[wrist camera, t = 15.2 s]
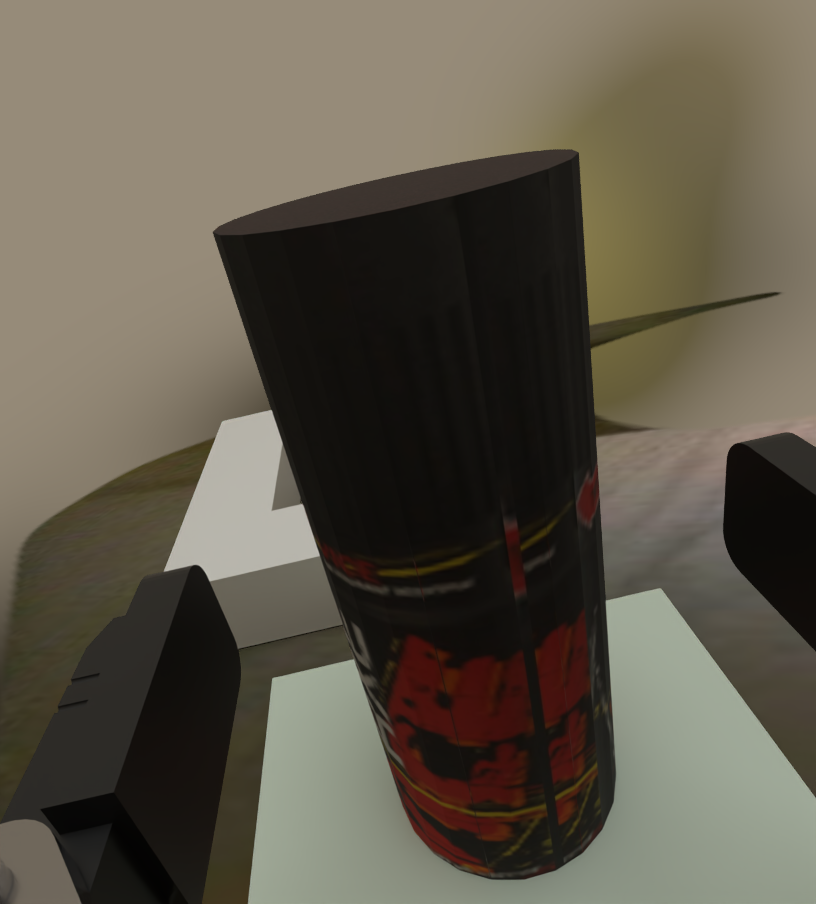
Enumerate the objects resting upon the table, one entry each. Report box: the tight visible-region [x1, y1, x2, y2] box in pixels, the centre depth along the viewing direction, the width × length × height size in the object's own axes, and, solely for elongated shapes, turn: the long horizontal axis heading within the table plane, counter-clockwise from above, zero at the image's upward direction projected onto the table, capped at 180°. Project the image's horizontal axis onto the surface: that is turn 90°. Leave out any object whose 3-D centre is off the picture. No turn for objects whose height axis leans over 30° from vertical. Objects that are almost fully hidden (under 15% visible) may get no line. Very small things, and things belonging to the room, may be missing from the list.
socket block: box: [164, 410, 343, 649], centre depth 31 cm, size 16×16×4 cm
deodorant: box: [213, 150, 616, 880], centre depth 14 cm, size 6×6×15 cm
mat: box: [248, 588, 816, 904], centre depth 17 cm, size 14×10×1 cm
